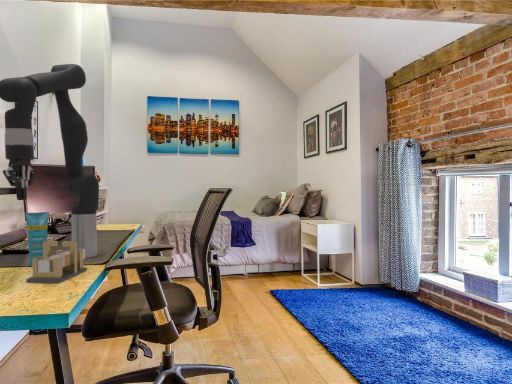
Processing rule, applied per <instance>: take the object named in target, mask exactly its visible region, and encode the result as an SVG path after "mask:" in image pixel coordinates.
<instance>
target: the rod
mask: <svg viewBox="0 0 512 384" xmlns="http://www.w3.org/2000/svg"><path fill="white" fill-rule="evenodd" d="M78 250H83V260H86V258H85V249H77V251H78ZM57 257H62V268H63V267H65V266H68V265H70V249H69V250H65V251H64V252H63V253H59V254H53V255H50V257H47V258H44V259H41V260H38V272H49V273H50V272H52V271H54V258H57Z"/></svg>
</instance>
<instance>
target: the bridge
mask: <svg viewBox="0 0 512 384" xmlns="http://www.w3.org/2000/svg"><path fill="white" fill-rule="evenodd" d="M61 244H62V245H61V246H62V248H63V247H64V248H65V247H66V248H67V247H68V248H69V250H70V273H76V272H77V241H72V240H64V241H62V243H61ZM58 245H59V241H58V240H47V241H43V259H44V258H47V257H50V256H51V247H58Z"/></svg>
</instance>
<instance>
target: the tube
mask: <svg viewBox="0 0 512 384" xmlns="http://www.w3.org/2000/svg"><path fill="white" fill-rule="evenodd" d="M24 214H25V220H26V228H27V229H26V230H27V239H28V240H27V241H28V253H29V254H28V255H29V256H28V258H29V266H30V267H32V258H35V257H41V259H43V241H48V240H47V239H48V226H49V217H50V211H42V212H41V211H40V212H25V213H24Z"/></svg>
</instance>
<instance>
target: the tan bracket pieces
mask: <svg viewBox="0 0 512 384" xmlns="http://www.w3.org/2000/svg"><path fill="white" fill-rule="evenodd" d="M63 252H65V249H59V250H56V254H59V253H63ZM56 254H55V255H56ZM38 260H41V257H35V258H32V266H31V268H32V277H33V278H54V279H59V278H61V277H62V269H70V265H68V266H65V267H63V268H62V257H57V258H54V271H52V272H50V273H49V272H38ZM82 268H84V259H83V250H78V251H77V269H82Z"/></svg>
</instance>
